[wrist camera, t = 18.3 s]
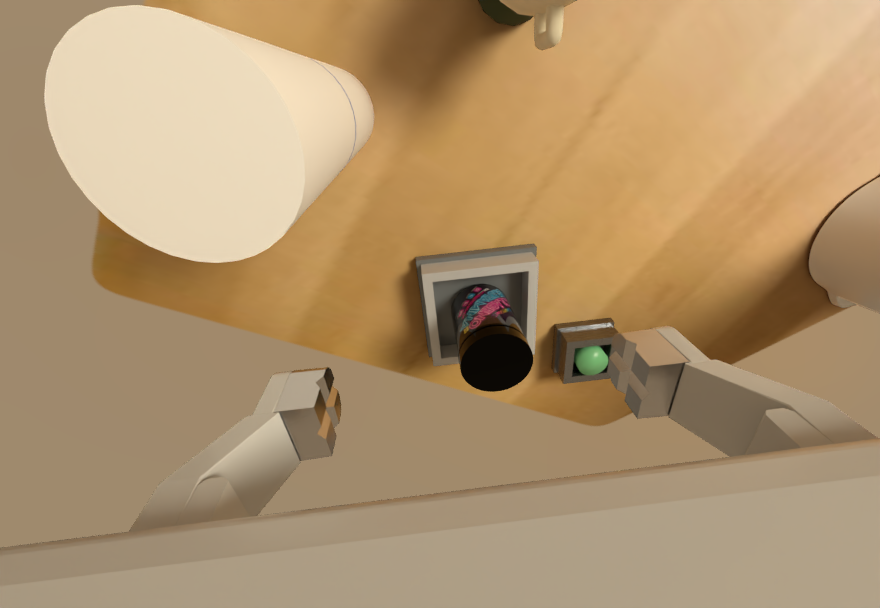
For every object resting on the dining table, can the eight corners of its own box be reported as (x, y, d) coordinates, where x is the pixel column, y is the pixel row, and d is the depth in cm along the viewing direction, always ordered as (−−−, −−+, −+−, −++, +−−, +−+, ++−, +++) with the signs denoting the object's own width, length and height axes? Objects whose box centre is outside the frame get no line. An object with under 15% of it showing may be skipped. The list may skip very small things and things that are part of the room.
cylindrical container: (387, 138, 34) (345, 218, 12) (318, 168, 35) (168, 290, 13) (350, 51, 31) (206, -48, 9) (275, 86, 32) (-22, 73, 10)
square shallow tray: (533, 243, 40) (543, 255, 37) (530, 340, 47) (538, 357, 44) (415, 257, 40) (416, 270, 37) (428, 352, 47) (429, 370, 44)
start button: (600, 337, 45) (610, 350, 43) (597, 360, 47) (606, 373, 45) (571, 341, 45) (579, 353, 43) (569, 363, 47) (577, 376, 45)
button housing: (610, 317, 46) (624, 333, 43) (603, 361, 49) (615, 379, 46) (554, 324, 46) (565, 340, 43) (551, 367, 49) (560, 385, 46)
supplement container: (519, 296, 42) (548, 351, 33) (486, 339, 45) (504, 400, 36) (470, 270, 40) (487, 321, 31) (438, 316, 43) (446, 376, 34)
